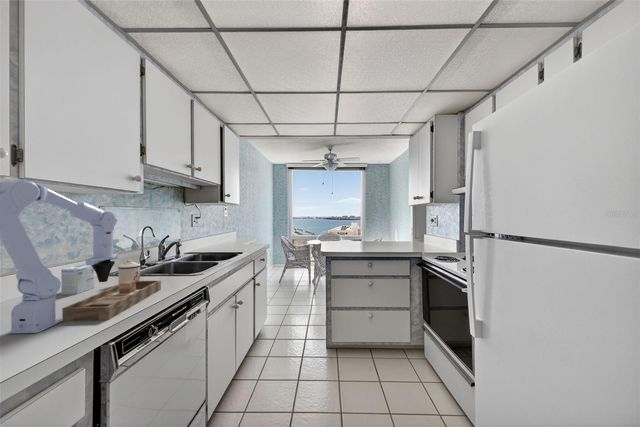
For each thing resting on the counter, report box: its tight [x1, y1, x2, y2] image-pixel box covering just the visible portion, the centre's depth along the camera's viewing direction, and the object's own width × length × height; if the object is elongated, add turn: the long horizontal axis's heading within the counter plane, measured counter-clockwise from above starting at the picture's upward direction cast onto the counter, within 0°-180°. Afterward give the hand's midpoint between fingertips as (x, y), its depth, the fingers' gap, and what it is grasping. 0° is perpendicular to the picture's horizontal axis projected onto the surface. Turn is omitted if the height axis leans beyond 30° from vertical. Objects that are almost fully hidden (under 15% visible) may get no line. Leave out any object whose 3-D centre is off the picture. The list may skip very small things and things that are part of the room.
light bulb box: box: [60, 264, 95, 295], centre depth 126 cm, size 11×7×11 cm, turn 5°
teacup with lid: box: [117, 259, 141, 285], centre depth 139 cm, size 12×9×12 cm
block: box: [119, 281, 136, 294], centre depth 116 cm, size 4×4×4 cm
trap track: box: [61, 280, 162, 322], centre depth 110 cm, size 36×14×4 cm, turn 5°
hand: (103, 281), depth 105 cm, fingers closed
